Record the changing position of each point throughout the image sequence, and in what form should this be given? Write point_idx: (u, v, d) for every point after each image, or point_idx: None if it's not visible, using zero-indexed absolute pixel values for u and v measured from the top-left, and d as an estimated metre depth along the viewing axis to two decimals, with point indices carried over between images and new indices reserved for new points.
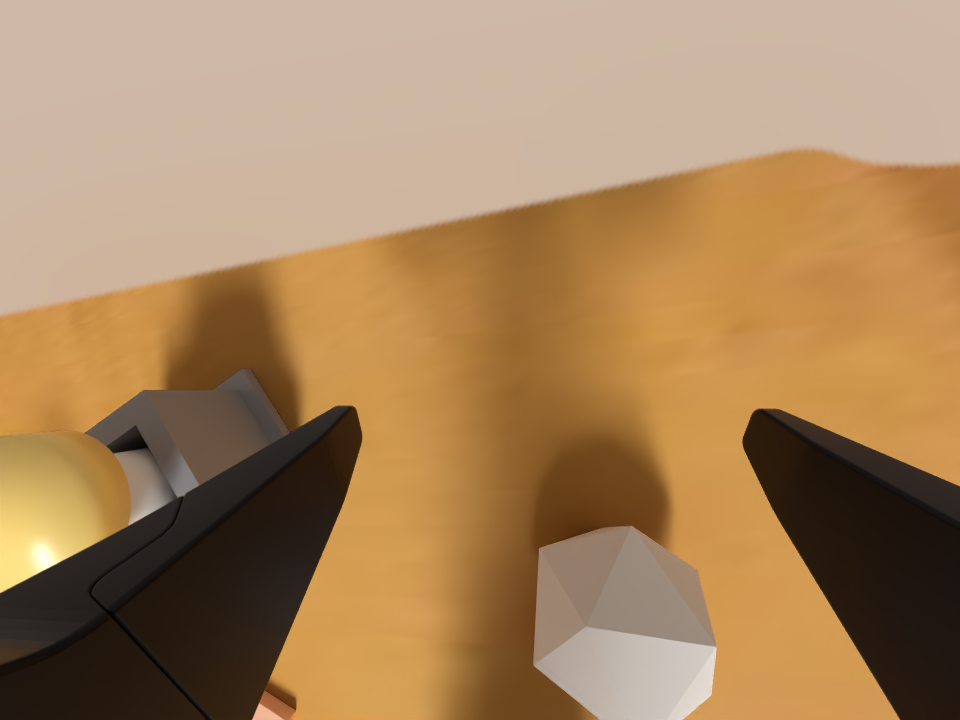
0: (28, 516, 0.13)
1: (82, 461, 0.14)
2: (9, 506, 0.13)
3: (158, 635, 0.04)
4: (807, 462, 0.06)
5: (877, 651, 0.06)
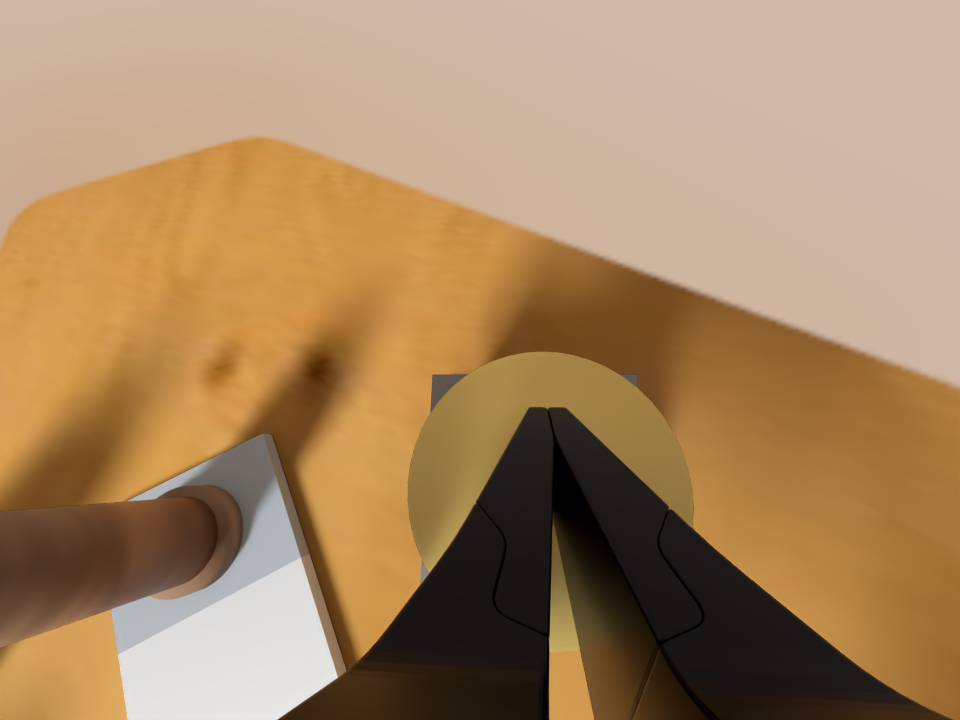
0: None
1: None
2: None
3: None
4: (555, 457, 0.07)
5: (579, 635, 0.06)
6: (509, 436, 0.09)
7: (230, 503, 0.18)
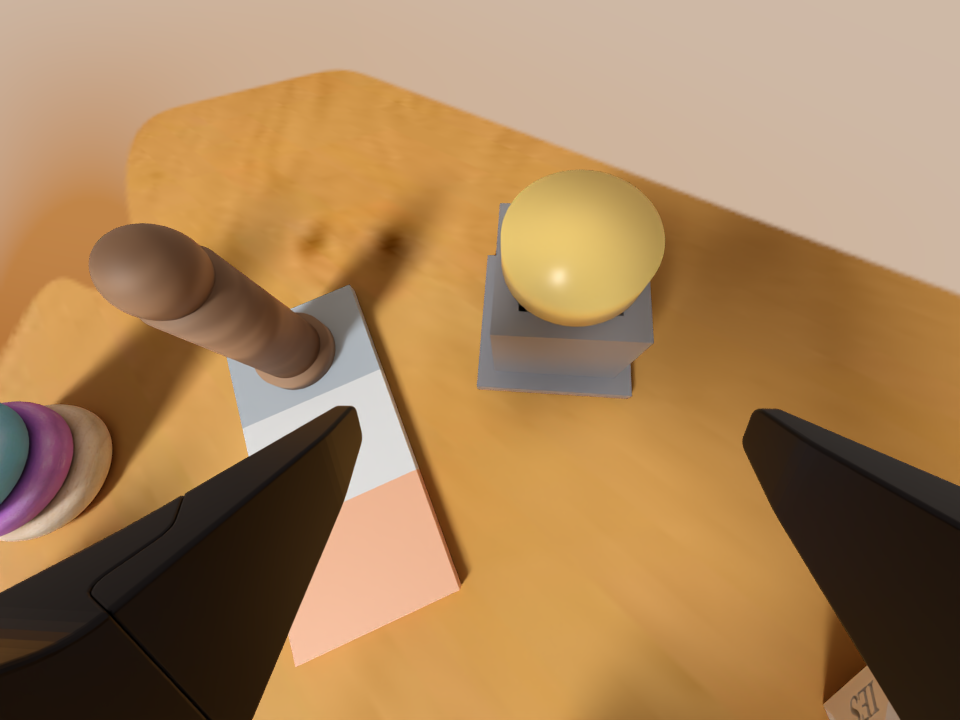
0: (611, 244, 0.14)
1: None
2: (599, 228, 0.15)
3: (157, 635, 0.04)
4: (807, 462, 0.06)
5: (877, 651, 0.06)
6: (560, 211, 0.15)
7: (327, 328, 0.23)
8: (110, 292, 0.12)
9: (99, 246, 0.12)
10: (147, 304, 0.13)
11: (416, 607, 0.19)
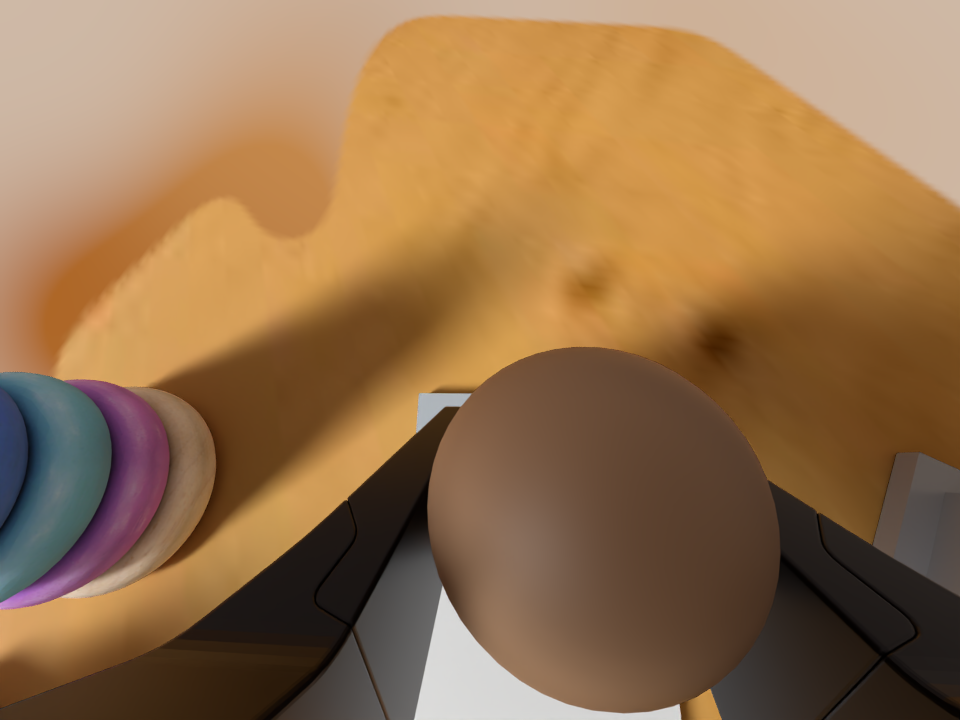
0: None
1: None
2: None
3: (372, 647, 0.04)
4: None
5: None
6: None
7: None
8: (521, 663, 0.03)
9: (578, 491, 0.03)
10: None
11: None
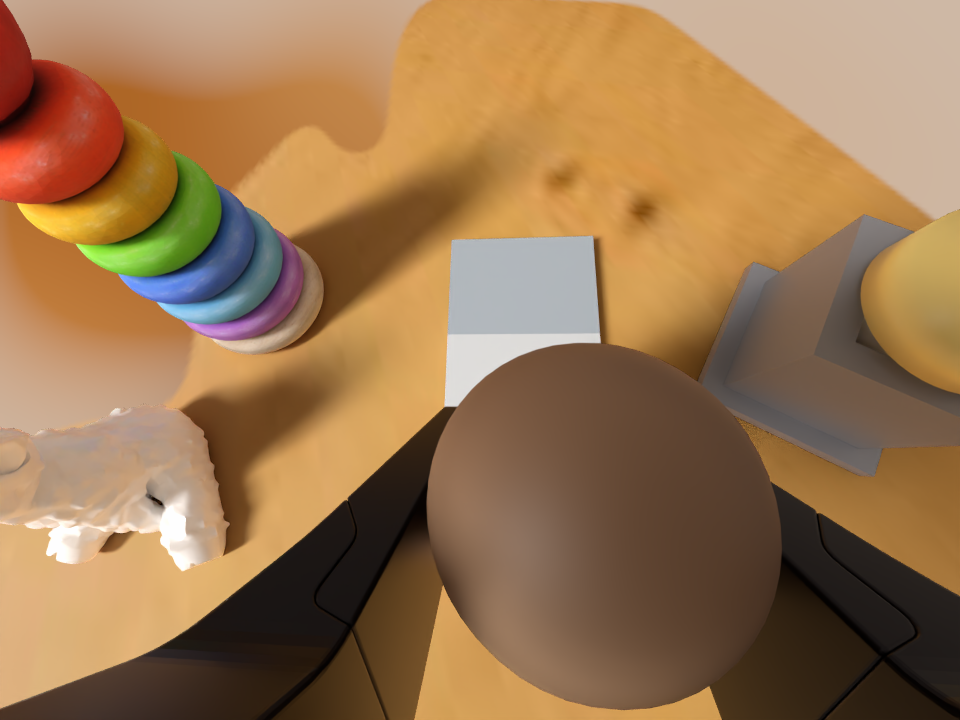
0: None
1: None
2: None
3: (372, 647, 0.04)
4: None
5: None
6: None
7: None
8: (521, 659, 0.03)
9: (578, 485, 0.03)
10: None
11: None
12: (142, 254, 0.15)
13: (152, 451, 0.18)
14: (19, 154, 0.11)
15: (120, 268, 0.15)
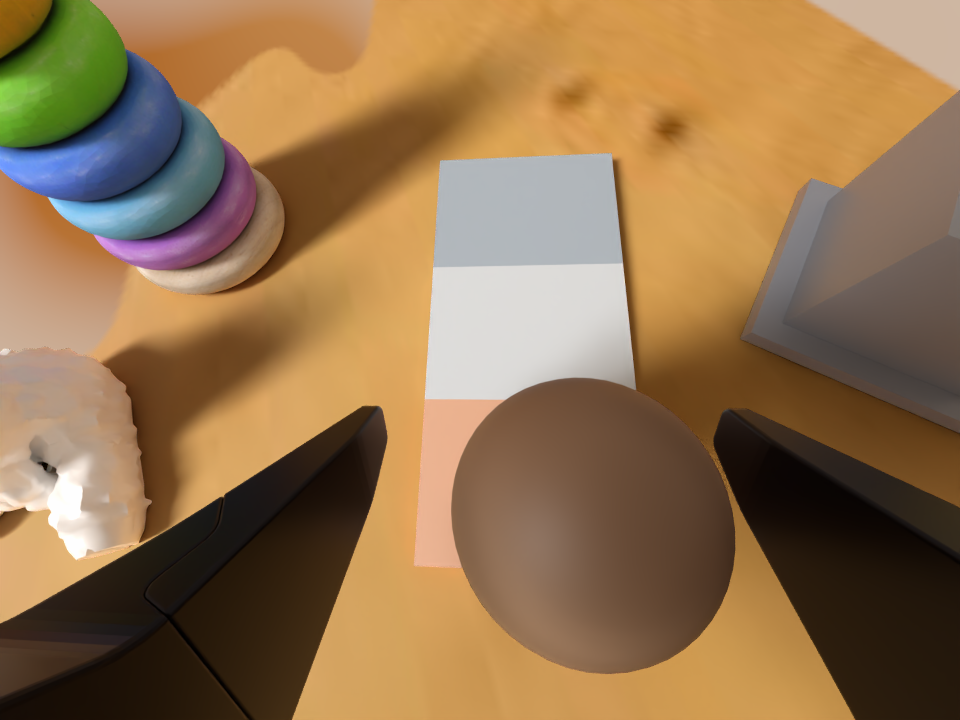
0: None
1: None
2: None
3: (210, 637, 0.04)
4: (770, 461, 0.07)
5: (832, 648, 0.06)
6: None
7: None
8: (534, 635, 0.04)
9: (578, 502, 0.04)
10: None
11: None
12: None
13: (37, 399, 0.14)
14: None
15: None
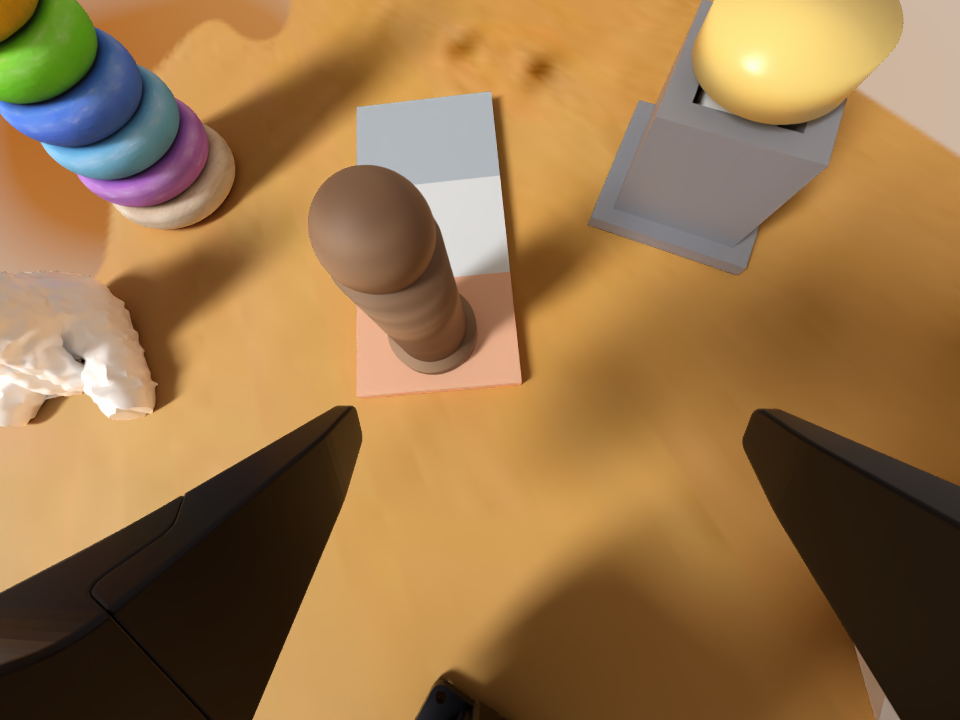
0: (839, 26, 0.13)
1: None
2: (829, 8, 0.13)
3: (158, 635, 0.04)
4: (807, 462, 0.06)
5: (877, 651, 0.06)
6: None
7: None
8: (331, 251, 0.10)
9: (337, 189, 0.09)
10: (366, 277, 0.10)
11: (477, 384, 0.20)
12: (10, 65, 0.15)
13: (62, 299, 0.19)
14: None
15: None
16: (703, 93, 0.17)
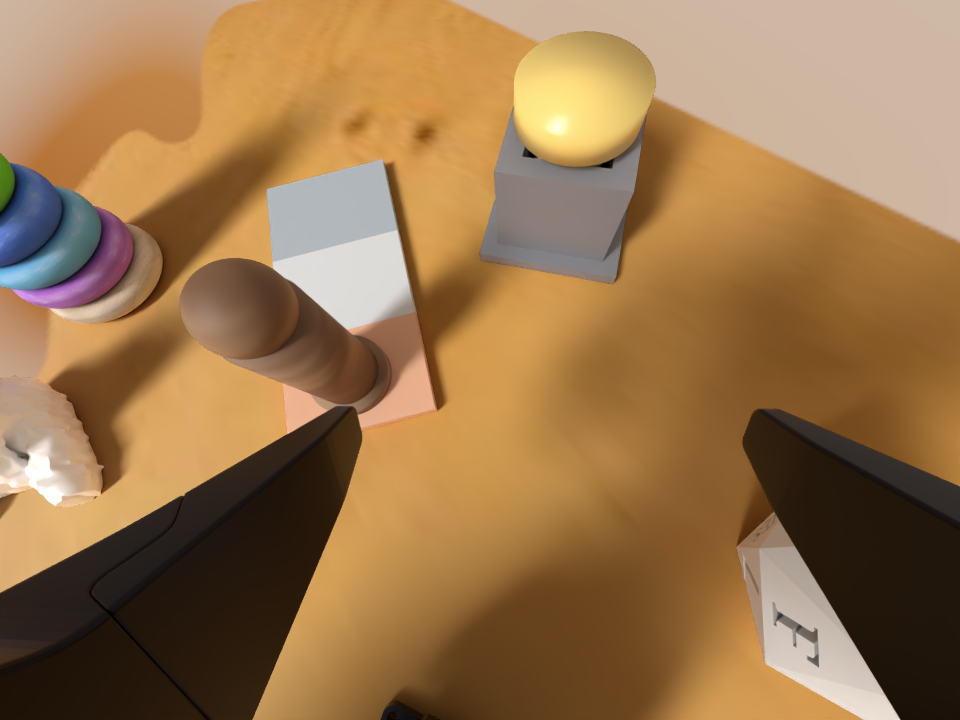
0: (608, 89, 0.17)
1: None
2: (600, 76, 0.17)
3: (159, 634, 0.04)
4: (807, 462, 0.06)
5: (877, 651, 0.06)
6: (569, 61, 0.17)
7: (386, 356, 0.22)
8: (198, 332, 0.12)
9: (195, 284, 0.12)
10: (232, 348, 0.12)
11: (396, 417, 0.22)
12: None
13: (1, 403, 0.20)
14: None
15: None
16: None
